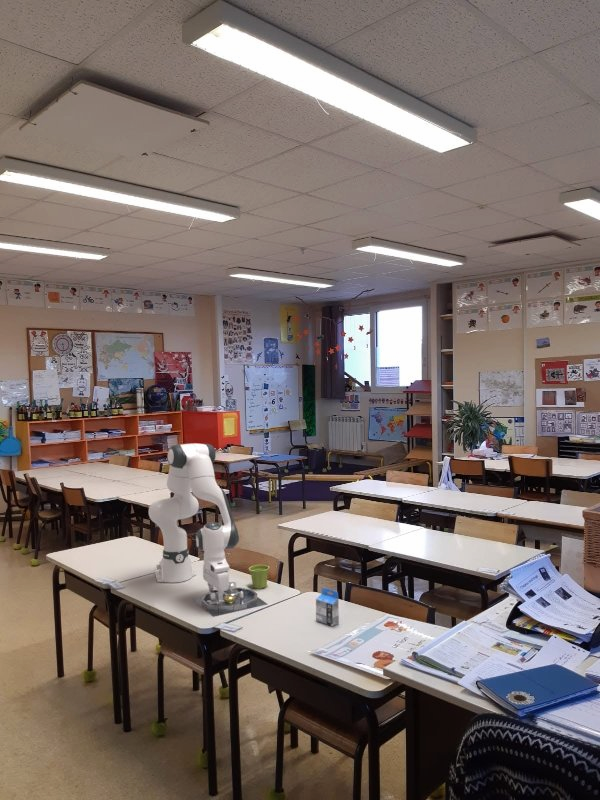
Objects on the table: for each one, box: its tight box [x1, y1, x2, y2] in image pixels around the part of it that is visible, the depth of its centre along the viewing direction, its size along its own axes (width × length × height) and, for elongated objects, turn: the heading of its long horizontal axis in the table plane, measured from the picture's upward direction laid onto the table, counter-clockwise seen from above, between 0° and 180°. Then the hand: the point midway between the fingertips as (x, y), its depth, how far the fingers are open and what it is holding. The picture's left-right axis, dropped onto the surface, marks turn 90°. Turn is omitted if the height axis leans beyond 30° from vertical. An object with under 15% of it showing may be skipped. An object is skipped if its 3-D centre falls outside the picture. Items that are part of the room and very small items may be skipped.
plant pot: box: [248, 564, 270, 590], centre depth 272 cm, size 9×9×9 cm
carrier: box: [192, 581, 268, 618], centre depth 251 cm, size 24×24×7 cm
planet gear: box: [207, 589, 224, 606], centre depth 247 cm, size 7×7×6 cm
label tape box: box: [315, 586, 340, 627], centre depth 228 cm, size 9×4×12 cm, turn 45°
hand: (215, 596), depth 247 cm, fingers open, 8 cm apart
